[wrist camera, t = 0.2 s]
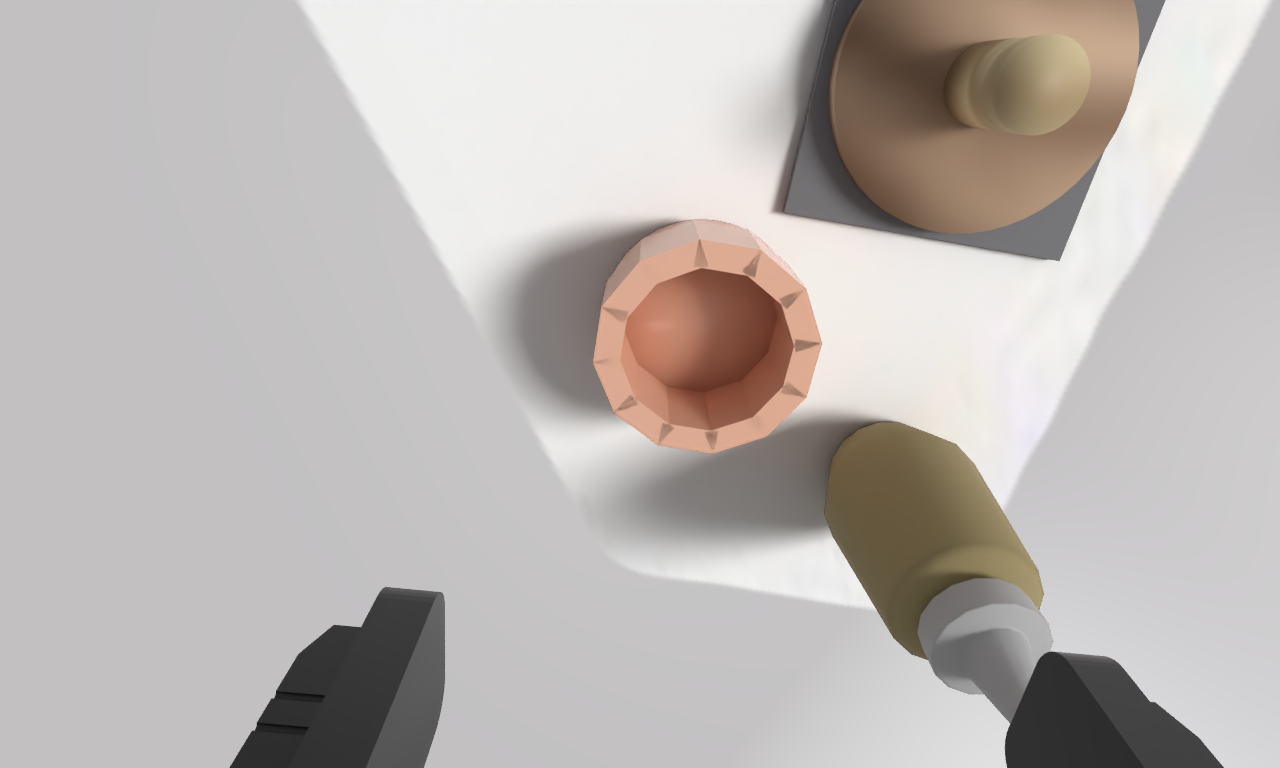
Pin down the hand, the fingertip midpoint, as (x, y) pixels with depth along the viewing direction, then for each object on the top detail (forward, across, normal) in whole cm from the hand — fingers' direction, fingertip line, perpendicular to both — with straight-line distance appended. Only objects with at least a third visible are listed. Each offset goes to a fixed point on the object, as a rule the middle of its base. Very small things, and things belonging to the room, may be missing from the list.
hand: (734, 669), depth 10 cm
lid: (+28, -13, -8) cm, 32 cm away
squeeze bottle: (+28, -13, +12) cm, 34 cm away
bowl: (+28, -2, +4) cm, 29 cm away
